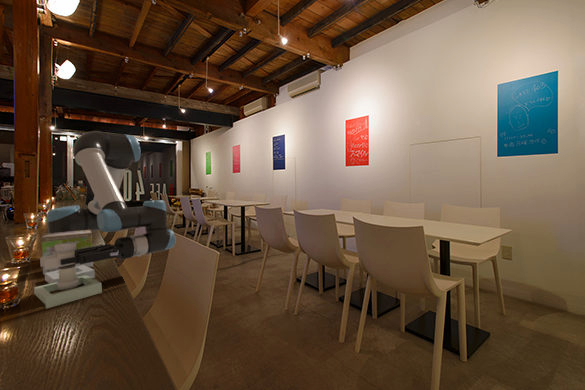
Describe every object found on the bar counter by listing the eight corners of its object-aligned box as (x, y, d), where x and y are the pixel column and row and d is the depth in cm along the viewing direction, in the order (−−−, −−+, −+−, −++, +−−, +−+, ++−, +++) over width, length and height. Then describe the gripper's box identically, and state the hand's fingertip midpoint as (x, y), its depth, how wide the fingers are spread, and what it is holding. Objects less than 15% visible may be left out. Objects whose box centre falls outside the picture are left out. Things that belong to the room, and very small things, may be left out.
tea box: (42, 277, 100) (40, 237, 99) (44, 271, 107) (41, 233, 107) (94, 268, 109) (91, 231, 108) (92, 263, 117) (90, 228, 116)
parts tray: (34, 297, 82) (34, 287, 82) (87, 283, 92) (86, 275, 92) (46, 308, 74) (45, 297, 74) (101, 292, 85) (101, 282, 84)
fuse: (55, 287, 83) (52, 244, 82) (75, 282, 87) (73, 241, 86) (60, 291, 80) (57, 246, 79) (81, 285, 84) (78, 243, 83)
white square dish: (45, 283, 94) (44, 273, 94) (84, 274, 103) (83, 264, 102) (54, 290, 87) (53, 279, 87) (95, 279, 96) (94, 270, 96)
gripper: (142, 260, 92) (51, 282, 74) (120, 253, 102) (36, 271, 84) (141, 238, 92) (49, 254, 73) (119, 233, 102) (34, 246, 83)
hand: (42, 263), depth 78 cm, fingers closed on fuse, 4 cm apart
